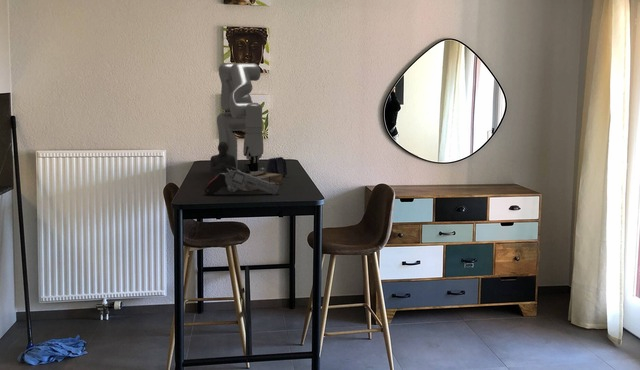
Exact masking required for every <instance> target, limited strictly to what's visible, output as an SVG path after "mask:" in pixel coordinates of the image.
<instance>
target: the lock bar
mask: <svg viewBox="0 0 640 370" xmlns="http://www.w3.org/2000/svg"><path fill="white" fill-rule="evenodd" d="M243 169H244V172H243V173H246V174H248V175H251V176H252V175H257V174H266V173H267V167H258V171H256V172H253V171H250V162H248V163H244V167H243Z"/></svg>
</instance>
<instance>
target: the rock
mask: <svg viewBox="0 0 640 370" xmlns="http://www.w3.org/2000/svg"><path fill="white" fill-rule="evenodd" d="M266 164H267V166H266V173H273V174H282V178H285V177H286V176H287V174H288V170H287V162H286V159H285V158H284V157H282V156H278V157H271V158H268V160H267V163H266Z"/></svg>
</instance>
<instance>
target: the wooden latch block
mask: <svg viewBox="0 0 640 370" xmlns="http://www.w3.org/2000/svg"><path fill="white" fill-rule="evenodd" d="M252 176H253V177H256V178H259V179H261V180H264V181H266V182H269V183H275V182H276V183H278V184H279V185H283V177H282V174H273V173H268V172H266V174H257V175H252ZM233 178H234V177H233ZM243 178H244V177H243ZM236 182H237V181H236ZM241 183H242V182H241ZM231 187H232V189H233V190H235V189H237V186H236V185H233V184H232V186H231ZM228 188H229V189H230V185H228ZM230 190H231V189H230ZM256 190H258V189H257V188H255V187H252V186H250V185H246V186H245V187H244V188H243V189H242V188H238V189H237V191H243V192H244V191H245V192H251V191H256Z"/></svg>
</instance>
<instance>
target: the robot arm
mask: <svg viewBox="0 0 640 370" xmlns="http://www.w3.org/2000/svg"><path fill="white" fill-rule="evenodd" d="M218 76H219V79H220V82H221V83H220V84H221V93H220V107H221V109H222V110H223V111H226V112H222V113H219V114H218V115H217V117H216V124H217V131H218V144H219V143H220V142H226V143H227V145H228V151H227V154H228V155H232V156H234V157H235V161H236V169H237V170H239V171H241V169H238V138H237V136H236V135H235V133H233V132H234V131H236V132H237V131H245V134H244V138H243V151H242V152H243V156H244V157H246V160H248V161H249V162H248V163H250V171H251V172H256V171H258V170H259V162H260V159H261V158H262V155H264V137H263V105H262V104H259V102H253V101H252V97H251V95H250V93H252V91H253V84H252V81H253V82H257V81H259V80H260V78H261V68H260V66H259V64H257V63H255V62H226V63H221V64H220V65H219V66H218Z"/></svg>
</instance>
